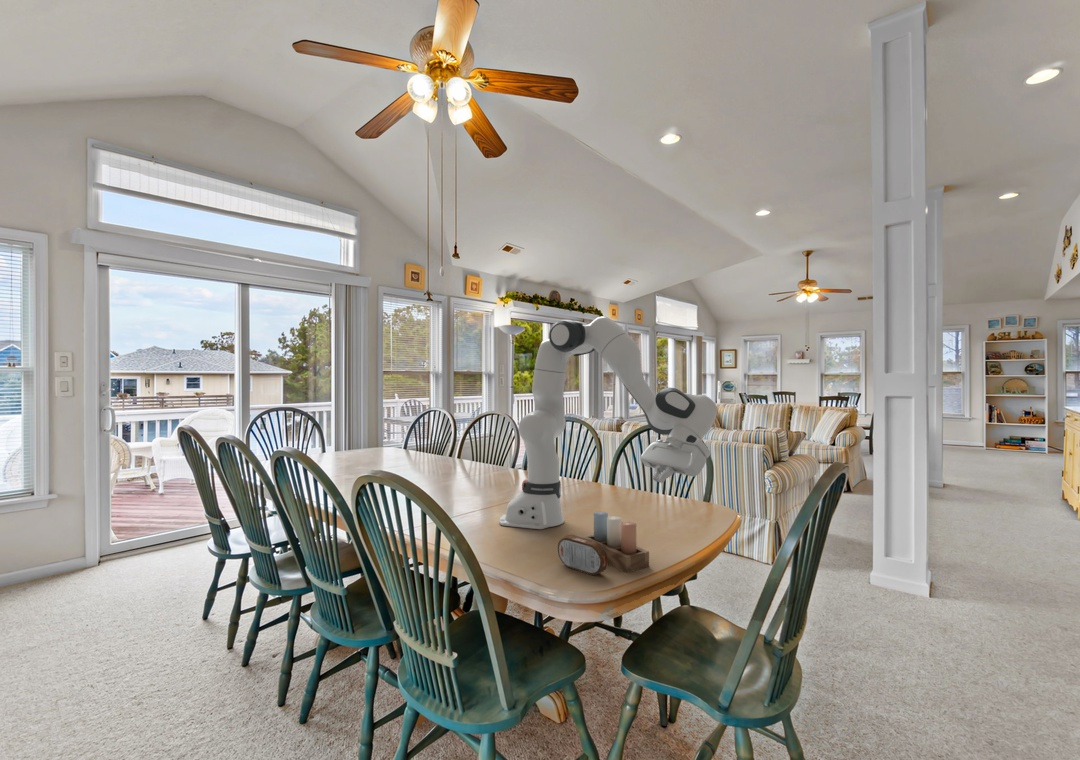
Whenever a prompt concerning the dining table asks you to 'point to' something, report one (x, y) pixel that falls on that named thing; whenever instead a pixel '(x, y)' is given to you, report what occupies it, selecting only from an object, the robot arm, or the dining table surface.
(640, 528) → the dining table surface
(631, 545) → the salmon pink capsule
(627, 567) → the three candle holder
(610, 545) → the white pillar candle
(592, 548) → the tin
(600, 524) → the blue grey capsule
